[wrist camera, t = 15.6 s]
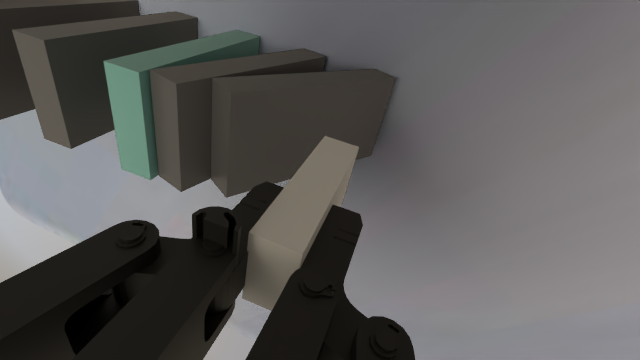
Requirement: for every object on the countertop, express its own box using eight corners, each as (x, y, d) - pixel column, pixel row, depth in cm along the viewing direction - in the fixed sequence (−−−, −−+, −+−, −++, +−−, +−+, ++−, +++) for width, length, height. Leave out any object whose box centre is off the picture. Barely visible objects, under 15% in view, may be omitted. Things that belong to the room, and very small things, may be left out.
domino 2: (197, 17, 21) (43, 39, 13) (198, 92, 24) (70, 148, 16) (175, 11, 22) (11, 29, 14) (179, 85, 24) (44, 138, 16)
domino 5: (395, 78, 19) (231, 93, 13) (370, 155, 21) (226, 197, 15) (374, 69, 20) (212, 77, 13) (353, 143, 22) (210, 178, 16)
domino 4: (325, 56, 20) (176, 84, 12) (310, 132, 22) (181, 191, 15) (304, 48, 20) (149, 69, 13) (292, 123, 23) (159, 175, 16)
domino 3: (259, 36, 21) (138, 72, 13) (253, 111, 24) (150, 180, 15) (237, 29, 21) (103, 60, 13) (233, 104, 24) (121, 168, 16)
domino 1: (137, 0, 22) (-44, 11, 14) (145, 74, 25) (-3, 120, 17) (117, -6, 22) (-72, 2, 14) (127, 68, 25) (-27, 110, 17)
